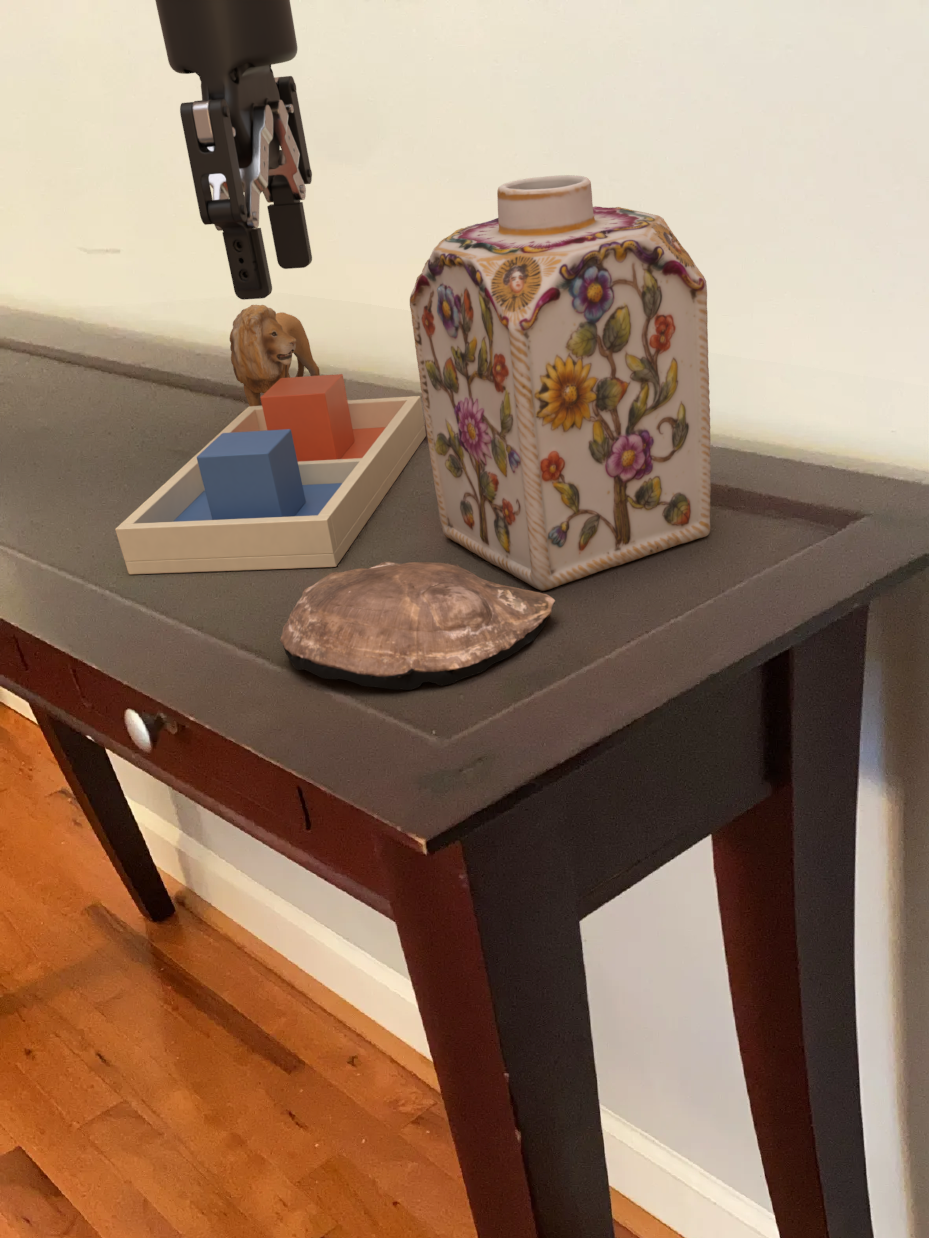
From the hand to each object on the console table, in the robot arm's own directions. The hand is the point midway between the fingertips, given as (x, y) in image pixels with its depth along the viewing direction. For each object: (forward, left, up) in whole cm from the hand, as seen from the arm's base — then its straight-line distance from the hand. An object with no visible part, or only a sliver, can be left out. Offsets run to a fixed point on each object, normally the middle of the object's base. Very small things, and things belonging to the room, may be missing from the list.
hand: (276, 281), depth 82 cm
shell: (+13, -28, -12) cm, 33 cm away
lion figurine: (-6, +13, -12) cm, 19 cm away
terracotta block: (0, 0, -11) cm, 11 cm away
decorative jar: (+20, -15, -12) cm, 28 cm away
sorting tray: (0, -6, -12) cm, 13 cm away
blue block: (0, -12, -11) cm, 16 cm away
